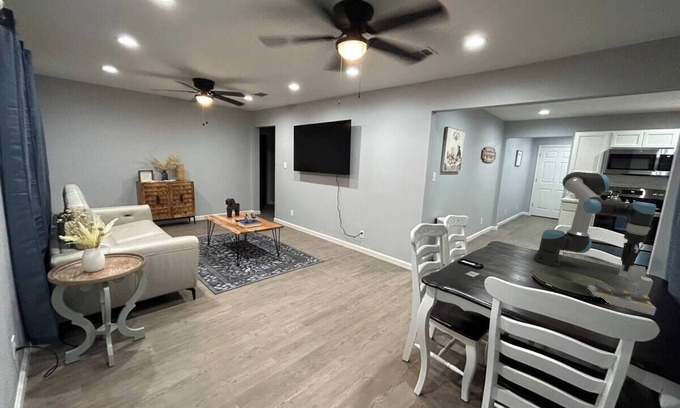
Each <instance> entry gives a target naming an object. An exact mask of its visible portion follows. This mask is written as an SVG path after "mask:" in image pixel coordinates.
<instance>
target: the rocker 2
mask: <svg viewBox="0 0 680 408" xmlns="http://www.w3.org/2000/svg"><path fill="white" fill-rule="evenodd" d="M610 290H611V292H612V293H613V294H614V295H618V296H627V297H630V294H631V293H629V292H628V291H627V290H621V289H615V288H614V289H613V288H611V289H610Z"/></svg>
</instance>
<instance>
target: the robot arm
mask: <svg viewBox="0 0 680 408" xmlns="http://www.w3.org/2000/svg"><path fill="white" fill-rule="evenodd" d="M610 185H611V183H610V179H609V177H608V176H607V175H606V174H604V173H598V172H597V173H596V172H584V171H574V172H570V173H567V174H566V175H565V176H564V178H562V186H563V188H564V190H567V191H568V192H571V193H572V194H573V195H574V196H575V198H577V199H578V202H577V206H576V209H575V212H574V216H573V218H572V222H571V223H572V224H571V227H570V229H567V231H566V233H565V231H563V230H559V229H545V230H544V231H543V232H542V234H541V237H540V243H539V248H538V250H537V251H536V252H535V254H534V256H533V260H534V261H535V262H537V263H539V264H542V265H544V266H549V267H550V266H551V267H559V266H560V265H561V258H560V252H561V251H566V252H571V253H576V254H577V253H578V254H579V253H580V254H585V253H587V252H588V251H589V250H590V249H591V247H592V244H593V242H592V241H593V240H592V238H591V237H590V234H589V233H588V231H589V227H590V225H591V221H592V216H593V214H594V215H604V216H605V215H606V216H612V217H621V218H627V219H628V222H627V225H626V228H625V232H624V235H623V239H625V240H626V242H623V247H622V253H621V257H620V261H621V266H620V268H619V271H618V276H619V277H622V278H625V277H626V278H627V275H628V272H629V269H630V266H633V265H635V262H636V260H637V258H638V255H639V254H640V253H641V249H640V247H641V246H640V243H641V244H643V243H645V242H646V240H647V236H648V234H649V231H651V225H652V222H653V219H654V217H655V214H656V209H657V205H656V204H654V203H649V202H642V201H635V202H634V203H630V202H625V201H611V200H604V199H603V198H602V197H601V196H602V195H603V193H606V192H608V190H609V188H610ZM626 278H625V279H626Z"/></svg>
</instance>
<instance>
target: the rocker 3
mask: <svg viewBox="0 0 680 408" xmlns="http://www.w3.org/2000/svg"><path fill="white" fill-rule="evenodd" d="M629 294H630V297H631V298H632V299H633V300H640V301H648V302H650V303H651V298H650V297H649V295H648V296H646V295H637V294H634V293H629Z"/></svg>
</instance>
